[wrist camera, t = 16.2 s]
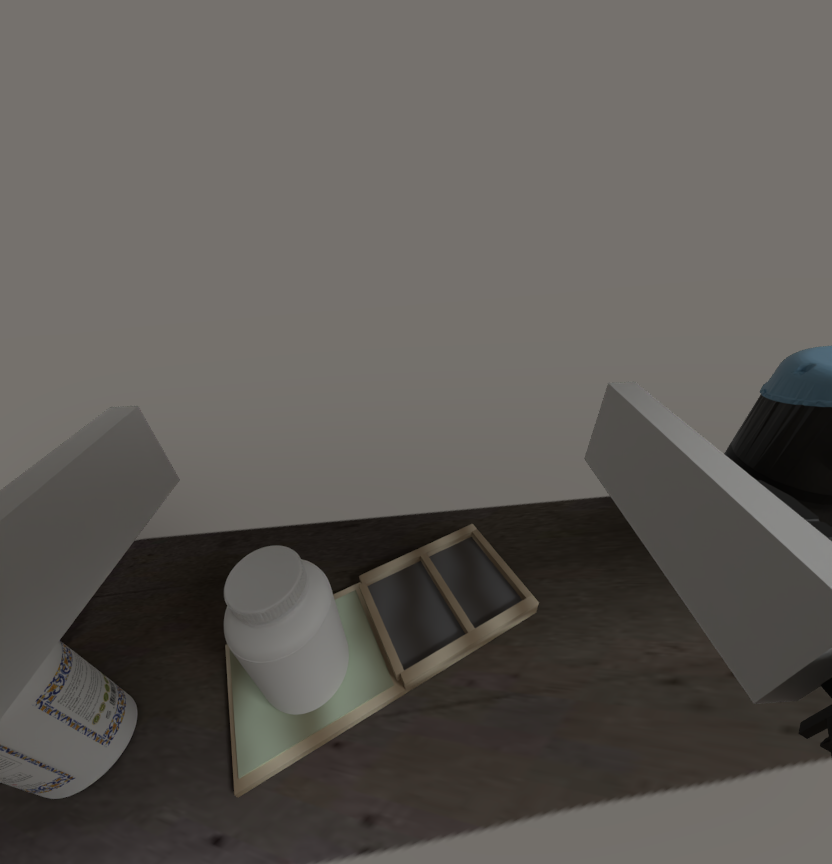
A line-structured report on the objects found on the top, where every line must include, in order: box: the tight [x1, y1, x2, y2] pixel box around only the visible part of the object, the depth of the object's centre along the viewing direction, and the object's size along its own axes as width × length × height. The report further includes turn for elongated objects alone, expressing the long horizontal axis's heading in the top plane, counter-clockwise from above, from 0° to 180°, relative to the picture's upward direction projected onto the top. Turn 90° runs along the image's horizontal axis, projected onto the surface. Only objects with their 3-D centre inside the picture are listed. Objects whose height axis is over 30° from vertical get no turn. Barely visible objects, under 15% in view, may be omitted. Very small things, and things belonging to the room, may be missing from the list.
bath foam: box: [0, 640, 137, 799], centre depth 24 cm, size 7×7×20 cm
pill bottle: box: [224, 546, 349, 715], centre depth 29 cm, size 8×8×15 cm
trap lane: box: [225, 524, 539, 797], centre depth 36 cm, size 30×12×2 cm, turn 117°
